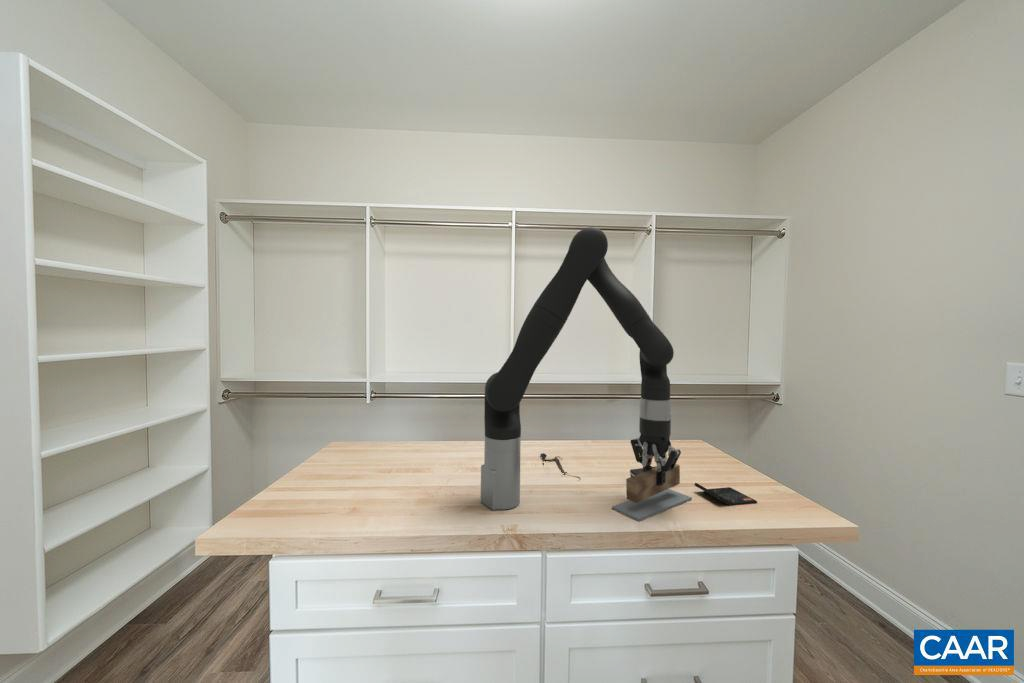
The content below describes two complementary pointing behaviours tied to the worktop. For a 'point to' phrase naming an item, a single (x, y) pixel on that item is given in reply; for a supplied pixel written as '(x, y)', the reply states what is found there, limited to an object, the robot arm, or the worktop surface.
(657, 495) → the mat
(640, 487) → the wooden block
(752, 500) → the calculator
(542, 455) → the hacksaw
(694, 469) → the worktop surface
